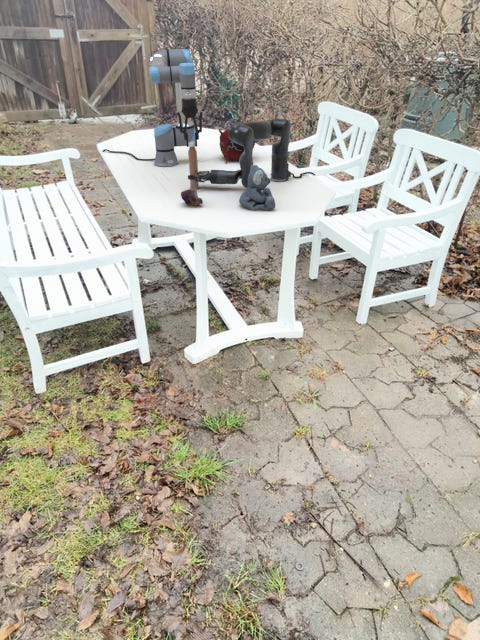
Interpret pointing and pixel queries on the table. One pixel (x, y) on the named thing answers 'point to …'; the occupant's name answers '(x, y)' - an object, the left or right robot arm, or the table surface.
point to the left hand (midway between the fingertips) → (192, 146)
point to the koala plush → (257, 191)
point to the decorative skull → (230, 147)
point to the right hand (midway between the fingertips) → (189, 175)
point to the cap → (191, 144)
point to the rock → (191, 197)
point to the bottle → (193, 166)
